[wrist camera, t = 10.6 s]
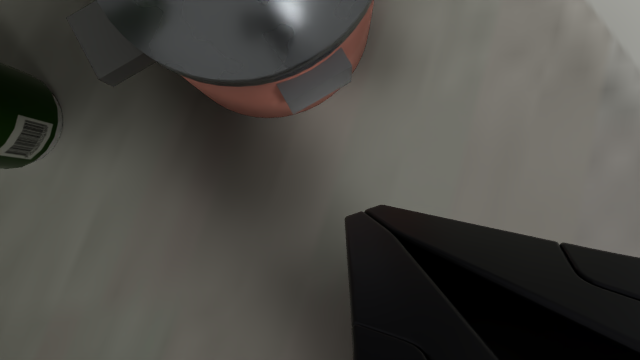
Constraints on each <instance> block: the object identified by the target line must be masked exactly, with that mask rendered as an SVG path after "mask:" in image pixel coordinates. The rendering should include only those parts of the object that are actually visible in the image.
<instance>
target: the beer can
mask: <svg viewBox="0 0 640 360" xmlns="http://www.w3.org/2000/svg"><path fill="white" fill-rule="evenodd" d="M62 126H63V121H62V111H61V108H60V106H59V103H58V101H57V99H56V98H55V97H54V95H53V94H52V93H51V92H50V91H49V89H48V88H47V87H46V86H45V85H44V83H43V82H41V81H40V80H38V79H36V78H35V77H33V76H31V75H29V74H27V73H24V72H22V71H19V70H17V69H14V68H12V67H9V66H7V65H4V64H2V63H0V168H3V169H9V168H18V167H23V166H25V165H28V164H30V163H32V162H35V161H37V160H39V159H41V158H43V157H44V156H45V155H47V154H48V153H49V152H50V151H51V150H52V149H53V148H54V146H55V144H56V143H57V141H58V139H59V138H60V134H61V130H62Z"/></svg>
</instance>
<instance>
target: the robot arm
mask: <svg viewBox="0 0 640 360" xmlns="http://www.w3.org/2000/svg"><path fill="white" fill-rule="evenodd" d="M345 231H346V247H347V262H348V277H349V293H350V308H351V323H352V345H353V360H640V258H638V257H632V256H627V255H622V254H617V253H612V252H607V251H602V250H597V249H592V248H587V247H582V246H578V245H573V244H568V243H561V244H560V245H559V244H558V243H557V242H555V241H550V240H546V239H541V238H536V237H532V236H527V235H522V234H518V233H513V232H508V231H504V230H499V229H494V228H489V227H485V226H480V225H475V224H471V223H466V222H461V221H457V220H452V219H447V218H443V217H438V216H433V215H428V214H424V213H419V212H414V211H410V210H405V209H400V208H396V207H391V206H386V205H378V206H375V207H373V208H370V209H367V210H365V212H358V213H355V214H352V215H349V216H347V217H346V218H345Z"/></svg>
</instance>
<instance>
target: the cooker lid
mask: <svg viewBox="0 0 640 360" xmlns="http://www.w3.org/2000/svg"><path fill="white" fill-rule="evenodd" d="M372 1H373V0H97V2H98V3H99V5H100V7H101V8H102V10H103V11H104V13H105V14H106V16H107V18H108V19H109V20H110V21H111V23H112V24H113V25H114V26H115V27H116V29H117V30H118V31H119V32H120V33H121V34H122V35H123V36H124V37H125V38H126V39H127V40H128V41H129V42H131V43H132V44H133V45H134V46H135V47H136V48H138V49H139V50H140V51H142V52H143V53H144V54H146V55H147V56H149V57H150V58H152V59H153V60H154V61H156V62H157V63H159V64H160V65H162V66H163V67H165V68H167V69H169V70H171V71H173V72H175V73H177V74H179V75H181V76H183V77H186V78H189V79H192V80H195V81H198V82H202V83H207V84H212V85H217V86H230V87H244V86H257V85H262V84H267V83H272V82H277V81H279V80H282V79H285V78H288V77H291V76H294V75H296V74H298V73H300V72H302V71H304V70H306V69H308V68H310V67H312V66H314V65H315V64H317V63H318V62H320V61H321V60H323V59H324V58H326V57H327V56H329V55H330V54H331V53H332V52H333V51H334V50H335V49H337V48H338V47H339V46H340V45H341V44H342V43H343V42H344V41H345V40H346V39H347V38H348V37H349V36H350V34H351V33H352V32H353V31H354V30H355V29H356V27H357V26H358V24H359V23H360V21H361V20H362V19H363V17H364V16H365V14H366V13H367V11H368V9H369V7H370V5H371V3H372Z"/></svg>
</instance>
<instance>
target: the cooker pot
mask: <svg viewBox="0 0 640 360" xmlns="http://www.w3.org/2000/svg"><path fill="white" fill-rule="evenodd" d="M373 3H374V0H373V1H372V3H371V5H370V7H369V9H368V11H367V13H366V14H365V16H364V17H363V19H362V20H361V21H360V23H359V24H358V26H357V27H356V29H355V30H354V31H353V32H352V33H351V34H350V36H349V37H348V38H347V39H346V40H345V41H344V42H343V43H342V44H341V45H340V46H339V47H338V48H337V49H335V50H334V51H333V52H332V53H331V54H330V55H329V56H327V57H326V58H324V59H323V60H321V61H320V62H318V63H317V64H315V65H314V66H312V67H310V68H308V69H306V70H304V71H302V72H300V73H298V74H296V75H294V76H291V77H288V78H285V79H282V80H279V81H277V82H272V83H267V84H262V85H257V86H244V87H230V86H217V85H212V84H207V83H202V82H198V81H195V80H192V79H189V78H186V77H183V76H182V77H183V78H185V79H186V80H187V81H188V82H190V83H191V84H192V85H194V86H195V87H196V88H197V89H199V90H200V91H201V92H203V93H204V94H205V95H206V96H208V97H209V98H210V99H212V100H213V101H215V102H216V103H218V104H219V105H221V106H223V107H225V108H227V109H229V110H231V111H234V112H237V113H240V114H243V115H248V116H253V117H262V118H275V117H284V116H289V115H294V114H297V113H300V112H303V111H306V110H309V109H311V108H313V107H315V106H317V105H319V104H320V103H322V102H323V101H325V100H326V99H328V98H329V97H331V96H332V95H333V94H334V93H335V92H336V91H338V90H339V89H340V88H341V87H342V86H344V85H346V84H348V83H349V82H351V75H352V73H353V72H354V70H355V69H356V67H357V65H358V63H359V61H360V59H361V57H362V54H363V52H364V49H365V46H366V42H367V37H368V33H369V27H370V21H371V15H372V9H373ZM66 19H67V21H68V23H69V24H70V26H71V28H72V30H73V32H74V34H75V36H76V38H77V40H78V41H79V43H80V45H81V47H82V49H83V51H84V53H85V55H86V57H87V58H88V60H89V62H90V64H91V66H92V68H93V70H94V72H95V74H96V76H97V77H98V79H99V80H101V81H103V82H105V83H107V84H109V85H111V86H113V87H114V86H116V85H117V84H119V83H121V82H122V81H124V80H126V79H128V78H129V77H131V76H133V75H134V74H136V73H138V72H140V71H141V70H143V69H145V68H146V67H148V66H150V65H152V64H153V63H155V62H156V61H154V60H153V59H152V58H150V57H149V56H147V55H146V54H144V53H143V52H142V51H140V50H139V49H138V48H136V47H135V46H134V45H133V44H132V43H131V42H129V41H128V40H127V39H126V38H125V37H124V36H123V35H122V34H121V33H120V32H119V31H118V30H117V29H116V27H115V26H114V25H113V24H112V23H111V21H110V20H109V19H108V18H107V16H106V14H105V13H104V11H103V10H102V8H101V7H100V5H99V3H98V2H97V0H96V1H94V2H92V3H90V4H89V5H87V6H85V7H84V8H82V9H80V10H79V11H77V12H75V13H73V14H72V15H70V16H68V17H67V18H66Z"/></svg>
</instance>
